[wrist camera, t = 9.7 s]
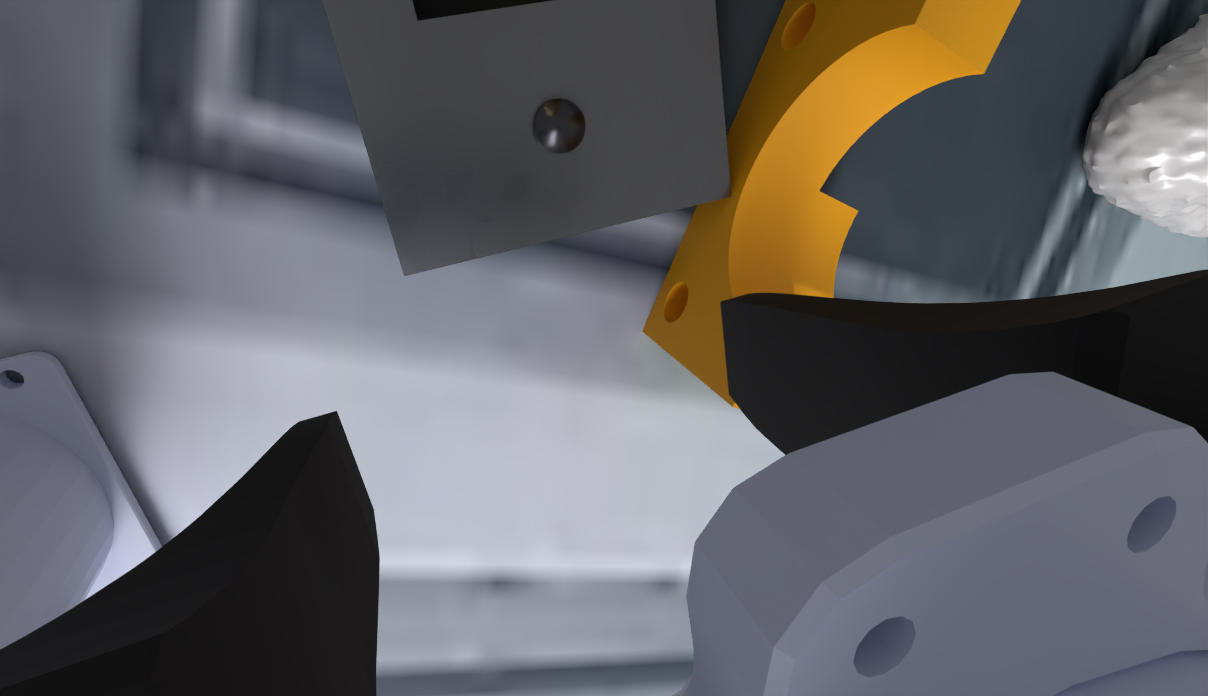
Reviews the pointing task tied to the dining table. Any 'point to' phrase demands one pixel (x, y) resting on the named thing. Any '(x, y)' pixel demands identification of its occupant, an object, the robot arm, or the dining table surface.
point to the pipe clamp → (807, 154)
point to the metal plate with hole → (533, 118)
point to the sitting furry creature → (1157, 137)
